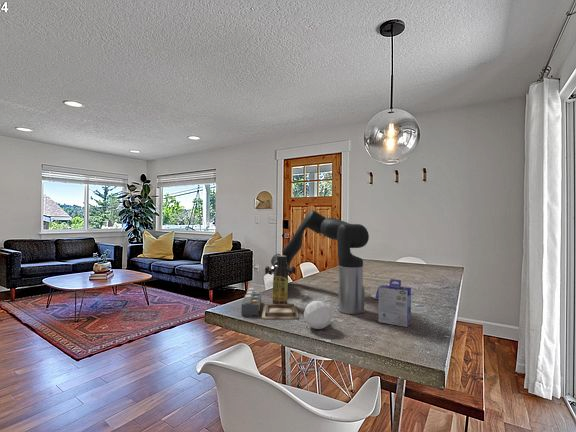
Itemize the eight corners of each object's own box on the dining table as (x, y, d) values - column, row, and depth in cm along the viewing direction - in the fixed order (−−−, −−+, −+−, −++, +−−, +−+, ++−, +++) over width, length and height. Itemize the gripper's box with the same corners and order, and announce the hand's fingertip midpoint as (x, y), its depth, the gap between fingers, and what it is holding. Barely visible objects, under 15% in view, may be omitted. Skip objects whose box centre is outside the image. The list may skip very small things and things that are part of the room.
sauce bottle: (269, 304, 129) (270, 256, 129) (276, 301, 134) (276, 254, 135) (284, 306, 126) (284, 256, 126) (290, 302, 132) (290, 255, 132)
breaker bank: (261, 302, 132) (261, 287, 132) (258, 315, 114) (259, 297, 114) (246, 302, 132) (246, 287, 132) (241, 315, 114) (241, 297, 114)
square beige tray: (296, 307, 124) (296, 303, 124) (298, 319, 110) (298, 313, 110) (263, 307, 124) (263, 303, 124) (261, 319, 110) (261, 313, 110)
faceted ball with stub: (333, 329, 95) (336, 321, 107) (324, 299, 97) (329, 294, 109) (306, 335, 97) (312, 327, 108) (298, 305, 99) (305, 301, 110)
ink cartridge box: (411, 323, 107) (411, 280, 107) (408, 328, 102) (408, 283, 102) (382, 318, 112) (382, 277, 112) (377, 322, 107) (378, 280, 108)
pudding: (382, 294, 150) (382, 283, 150) (404, 299, 140) (404, 287, 140) (365, 297, 143) (365, 285, 143) (387, 303, 133) (387, 291, 133)
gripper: (266, 259, 157) (264, 264, 141) (294, 259, 157) (296, 264, 141) (266, 274, 157) (264, 281, 141) (294, 274, 157) (296, 281, 141)
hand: (280, 272), depth 141 cm, fingers open, 8 cm apart
